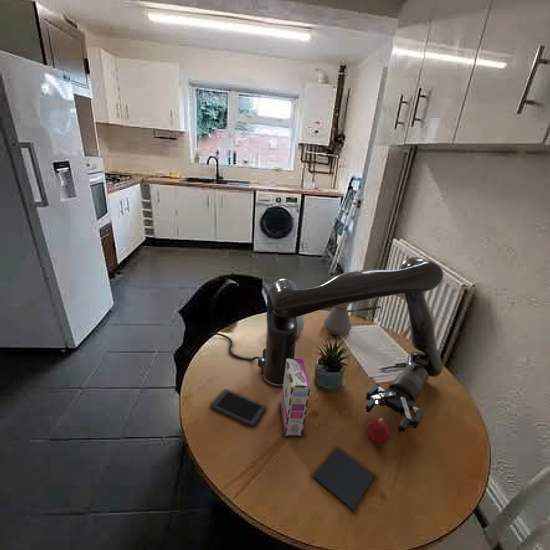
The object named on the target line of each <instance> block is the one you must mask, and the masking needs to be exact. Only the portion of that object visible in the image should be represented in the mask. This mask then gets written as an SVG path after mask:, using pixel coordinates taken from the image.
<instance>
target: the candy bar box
mask: <svg viewBox="0 0 550 550" xmlns="http://www.w3.org/2000/svg"><path fill="white" fill-rule="evenodd" d="M311 388H312V387H311V383H310V380H309V375H308V373H307V369H306V365H305V360H304V358H294V359H286V367H285V375H284V383H283V386H282V392H281V398H280V399H281V400H280V408H281V409H280V410H281V416H282V424H283V431H284V437H302V436H303V435H304V427H305V422H306V416H307V410H308V404H309V398H310V392H311Z"/></svg>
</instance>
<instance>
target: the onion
mask: <svg viewBox="0 0 550 550" xmlns="http://www.w3.org/2000/svg"><path fill="white" fill-rule="evenodd" d="M365 435H366V437H367V440H368V441H369V442H370V443H371V444H373V445H376V446H378V447H380V446H384V445H386V443H388V441H389V439H390V436H391V431H390V428H389V426H388V424H387V422H385V421H384V419H383V418H382V417H380V418H375V419H372V420H370V421H368V423H367V424H366V427H365Z"/></svg>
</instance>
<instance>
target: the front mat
mask: <svg viewBox="0 0 550 550" xmlns="http://www.w3.org/2000/svg"><path fill="white" fill-rule="evenodd" d="M313 478H314V479H315V480H316V481H318V482H319V483H320V484H321V485H322V486H323V487H325V489H327V490H328V491H329V492H330V493H332V494H333V495H334V496H335V497H337V499H339V500H340V502H342V503H343V504H344V505H346V506H347V507H348V508H349V509H350V510H352V511H354V510H355V508H356V506H357V505H358V504H359V502H360V501H361V499H362V497H363V496H364V494H365V493H366V491H367V489H368V488H369V486H370V485H371V483H372V481H373V480H374V478H375V475H373V473H371V472H369V471H368V470H366V469H365V468H364V467H362V466H361V465H360V464H359V463H357V462H356V461H354V460H353V459H352V458H351V457H349V456H348V455H346V453H344V452H343V451H341V450H340V449H339V448H336V449H335V451H333V452H332V454H331V455H330V457H328V459H327V460H326V461H325V462H324V464H323V465H322V466H321V467H320V469H319V470H318V471H317V472H316V473H315V474H314V476H313Z"/></svg>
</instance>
